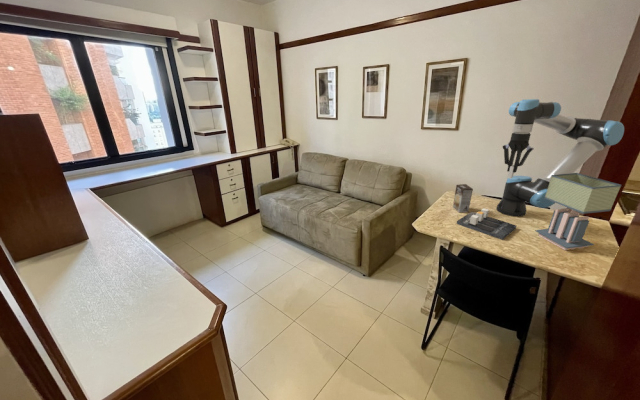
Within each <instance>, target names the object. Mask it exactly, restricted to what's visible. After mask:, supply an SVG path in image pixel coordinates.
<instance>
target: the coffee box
mask: <svg viewBox="0 0 640 400" xmlns="http://www.w3.org/2000/svg"><path fill="white" fill-rule="evenodd" d="M473 191H474V189H473V187H471V186H469V185H468V184H466V183H464V184H463V183H462V184H461V183H460V184H456V186H455V193H454V198H453V203H452V208H454V209H455V210H456V211H457V212H458V213H469V211H470V205H471V201H472V195H473Z"/></svg>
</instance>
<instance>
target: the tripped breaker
mask: <svg viewBox="0 0 640 400" xmlns="http://www.w3.org/2000/svg"><path fill="white" fill-rule="evenodd" d="M475 213H476V216H479V219H478V221H480V222H481V221H482V220H483V218H484V213H483V212H481V210H480V211H478V212H475Z"/></svg>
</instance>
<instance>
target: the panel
mask: <svg viewBox="0 0 640 400" xmlns="http://www.w3.org/2000/svg"><path fill="white" fill-rule="evenodd" d="M476 213H477V212H472V211H471V212H468V214H466V215H464V216H463V217H461V218H460V219H457V220H456V225H459V226H461V227H464V228H467V229H471V230H474V231H476V232H478V233H481V234H484V235H487V236H490V237H493V238H495V239H498V240H502V241H504V240H505V239H506V238H507V237H508V236H509V235H511V233H513V232H514V231H515V230H516V229H517V225H516V224H514V223H510V222H506V221H504V220H501V219H498V218H494V217H490V216H488V217H486V218H483V220H482V221H481V222H480V221H478V224H476V225H473V224H470V218H471V216H472V215H476Z"/></svg>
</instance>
